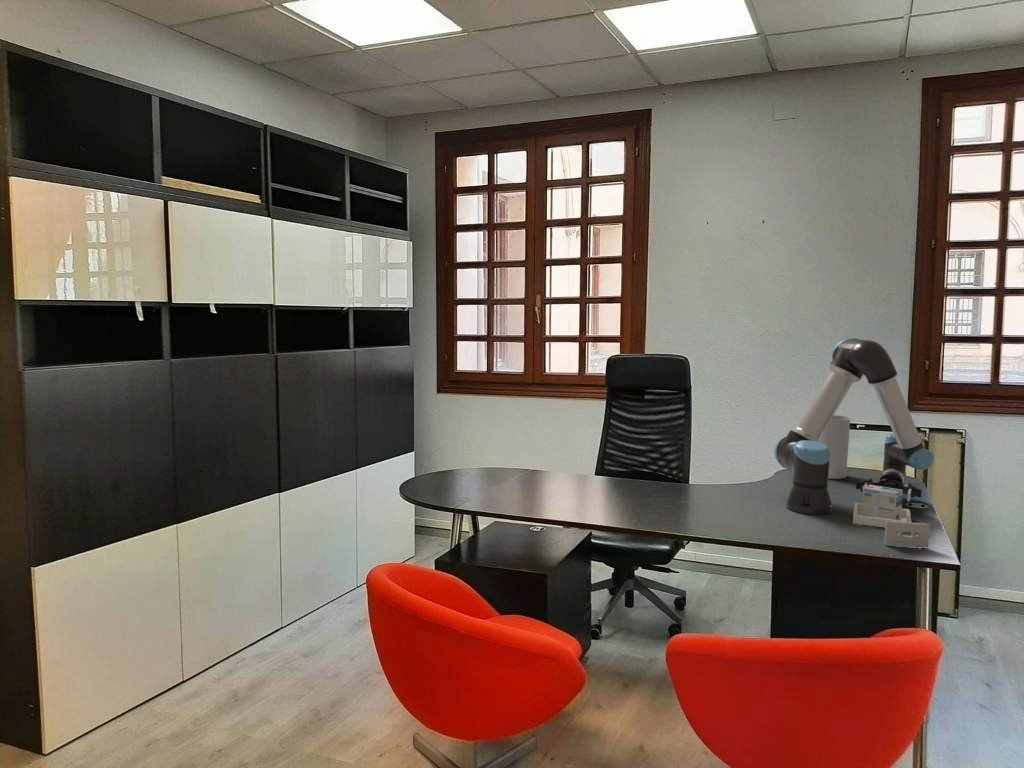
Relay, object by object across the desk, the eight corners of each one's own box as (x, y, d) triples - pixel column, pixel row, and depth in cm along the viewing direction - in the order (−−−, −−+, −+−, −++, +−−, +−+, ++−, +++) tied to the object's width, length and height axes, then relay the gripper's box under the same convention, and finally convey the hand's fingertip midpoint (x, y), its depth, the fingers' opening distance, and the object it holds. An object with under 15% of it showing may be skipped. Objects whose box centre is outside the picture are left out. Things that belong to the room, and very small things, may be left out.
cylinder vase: (820, 471, 321) (824, 414, 318) (850, 476, 312) (854, 417, 309) (809, 475, 312) (812, 417, 309) (839, 481, 303) (843, 420, 300)
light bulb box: (901, 520, 248) (903, 489, 247) (895, 525, 243) (897, 493, 242) (867, 514, 255) (869, 483, 254) (860, 518, 250) (863, 487, 249)
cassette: (926, 548, 223) (928, 523, 222) (928, 550, 221) (930, 525, 220) (883, 544, 225) (885, 520, 225) (885, 546, 224) (886, 522, 223)
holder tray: (911, 531, 238) (911, 522, 238) (852, 524, 245) (853, 515, 245) (908, 517, 253) (909, 509, 253) (854, 511, 260) (854, 502, 260)
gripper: (930, 496, 262) (927, 511, 245) (853, 486, 275) (845, 499, 257) (931, 475, 262) (928, 488, 244) (854, 466, 275) (846, 478, 257)
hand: (885, 494), depth 250 cm, fingers open, 13 cm apart
